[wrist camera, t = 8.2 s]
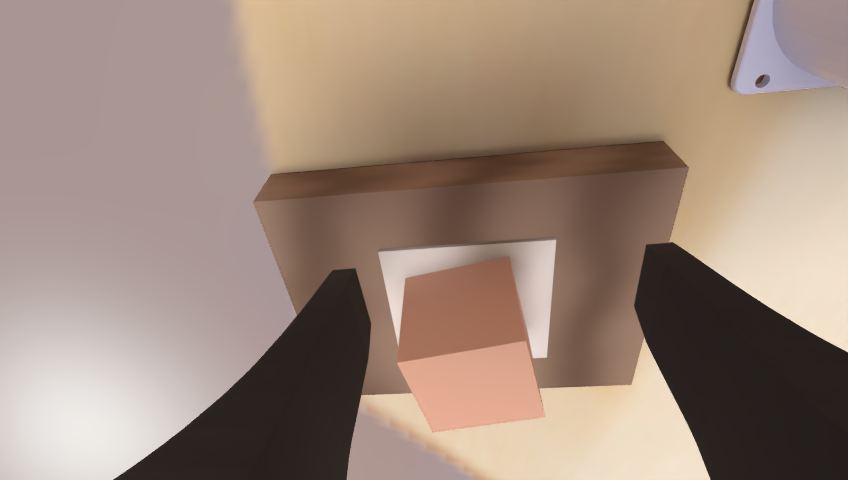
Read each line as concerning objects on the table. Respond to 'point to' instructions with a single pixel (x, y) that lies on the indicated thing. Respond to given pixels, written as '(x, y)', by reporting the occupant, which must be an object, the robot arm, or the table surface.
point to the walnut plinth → (489, 244)
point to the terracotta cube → (468, 347)
